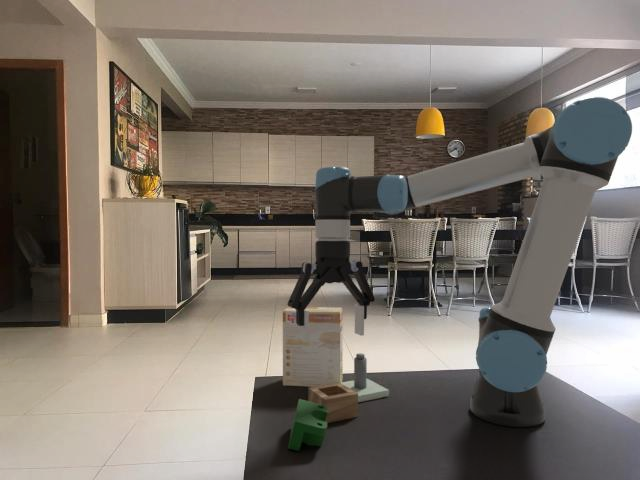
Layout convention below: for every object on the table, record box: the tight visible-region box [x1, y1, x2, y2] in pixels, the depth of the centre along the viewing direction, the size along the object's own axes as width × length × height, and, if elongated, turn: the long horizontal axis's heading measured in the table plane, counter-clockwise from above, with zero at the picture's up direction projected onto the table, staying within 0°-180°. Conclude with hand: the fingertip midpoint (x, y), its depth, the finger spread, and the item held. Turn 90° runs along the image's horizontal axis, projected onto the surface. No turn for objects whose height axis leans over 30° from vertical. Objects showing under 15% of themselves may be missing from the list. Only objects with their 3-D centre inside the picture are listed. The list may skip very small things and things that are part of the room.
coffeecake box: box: [282, 306, 344, 388], centre depth 122 cm, size 15×7×20 cm, turn 82°
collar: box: [307, 383, 359, 424], centre depth 102 cm, size 8×8×5 cm
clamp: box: [287, 398, 328, 452], centre depth 89 cm, size 12×6×9 cm, turn 173°
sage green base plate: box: [341, 353, 390, 403], centre depth 114 cm, size 10×10×10 cm
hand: (332, 337), depth 101 cm, fingers open, 13 cm apart
